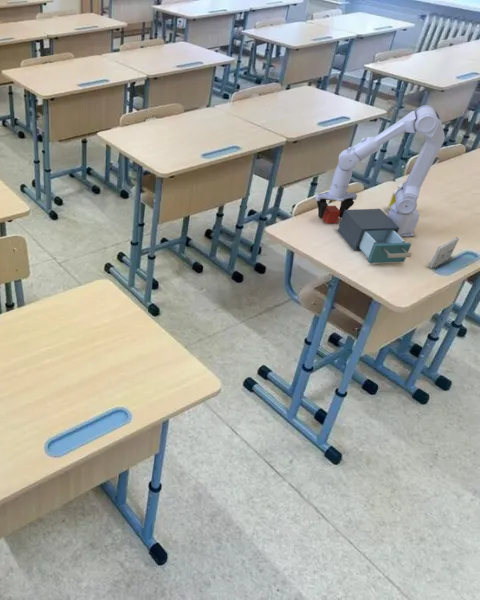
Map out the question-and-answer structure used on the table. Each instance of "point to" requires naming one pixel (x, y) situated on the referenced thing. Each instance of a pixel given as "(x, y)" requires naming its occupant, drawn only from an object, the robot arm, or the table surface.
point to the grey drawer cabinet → (363, 224)
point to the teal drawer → (384, 246)
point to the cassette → (443, 253)
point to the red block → (331, 214)
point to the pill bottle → (393, 197)
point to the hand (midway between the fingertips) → (330, 216)
